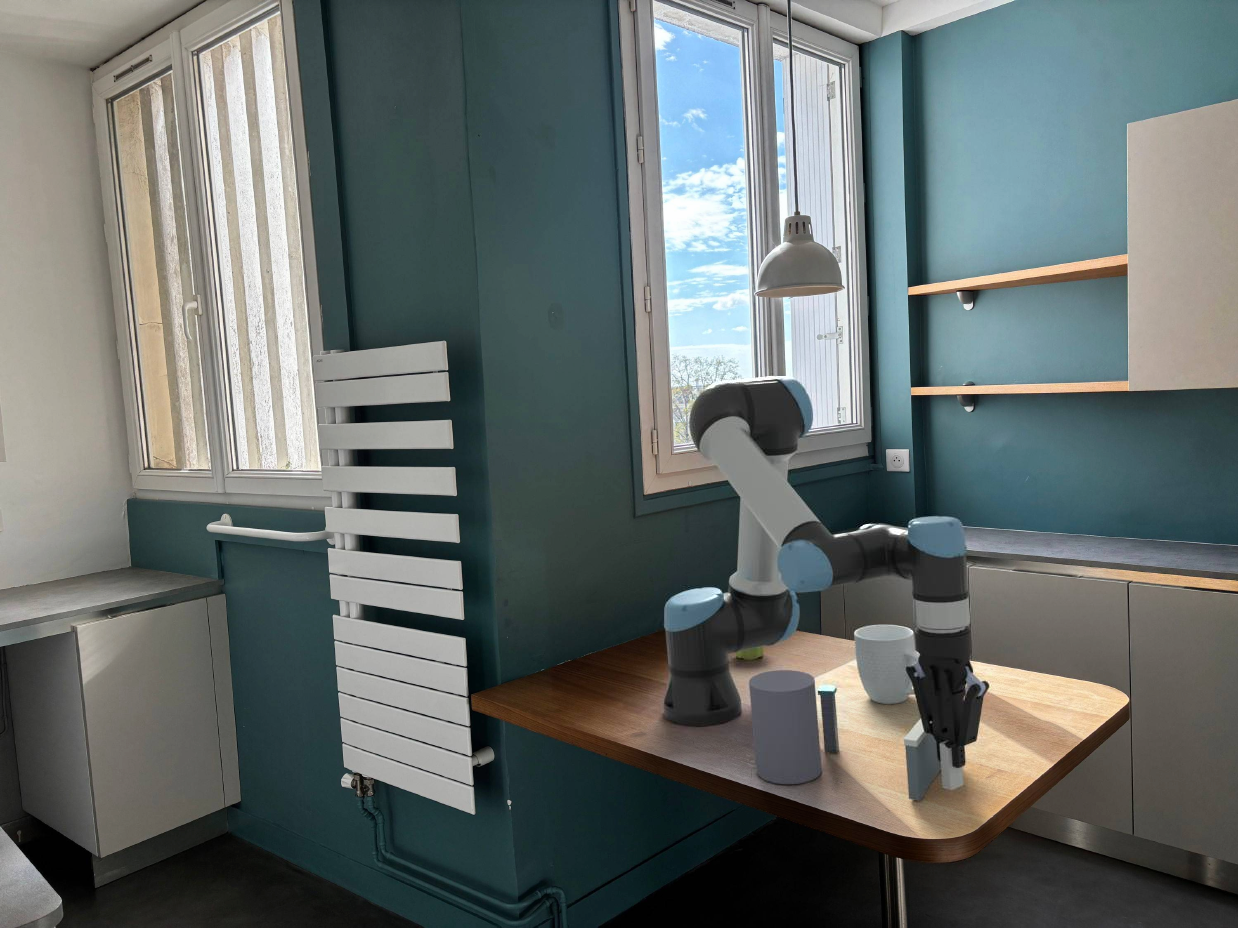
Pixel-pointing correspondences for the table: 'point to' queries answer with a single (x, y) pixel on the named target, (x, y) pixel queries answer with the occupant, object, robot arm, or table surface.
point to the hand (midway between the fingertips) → (953, 785)
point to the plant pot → (751, 653)
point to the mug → (885, 661)
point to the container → (785, 726)
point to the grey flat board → (920, 760)
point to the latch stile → (829, 718)
